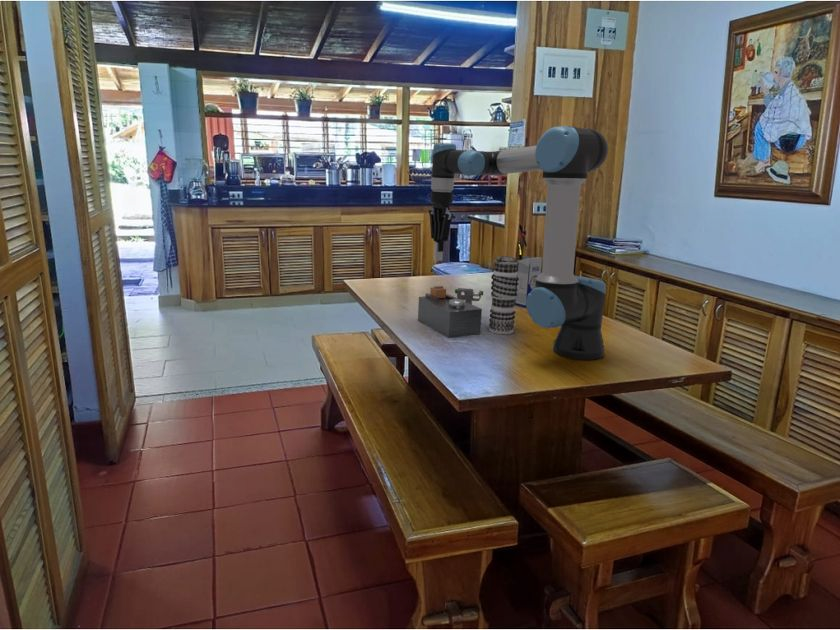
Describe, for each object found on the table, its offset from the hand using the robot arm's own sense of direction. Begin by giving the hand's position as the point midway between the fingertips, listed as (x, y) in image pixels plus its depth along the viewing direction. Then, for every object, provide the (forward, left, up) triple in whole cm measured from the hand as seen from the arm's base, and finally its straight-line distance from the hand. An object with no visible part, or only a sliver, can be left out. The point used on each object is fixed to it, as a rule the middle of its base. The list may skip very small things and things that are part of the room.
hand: (437, 260), depth 201 cm
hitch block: (-9, 0, -22) cm, 23 cm away
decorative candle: (-19, -15, -22) cm, 33 cm away
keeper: (-1, 0, -13) cm, 13 cm away
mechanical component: (+1, -14, -22) cm, 26 cm away
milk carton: (+7, -45, -22) cm, 51 cm away
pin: (-14, 0, -21) cm, 25 cm away
